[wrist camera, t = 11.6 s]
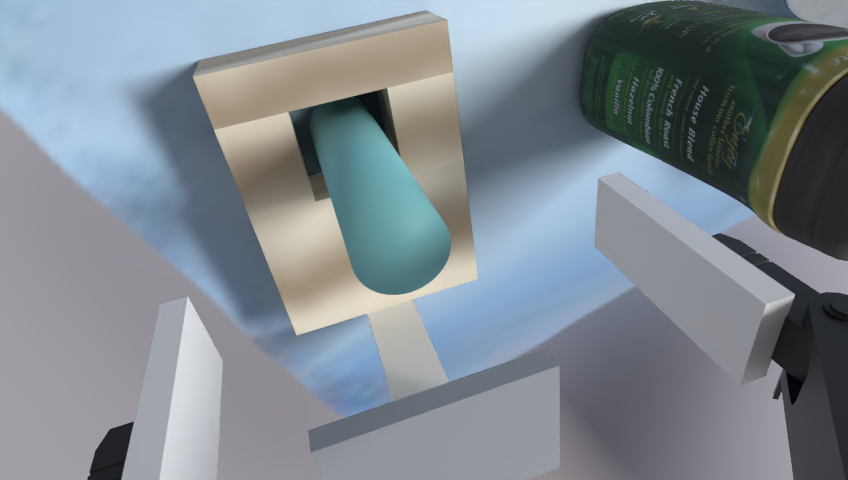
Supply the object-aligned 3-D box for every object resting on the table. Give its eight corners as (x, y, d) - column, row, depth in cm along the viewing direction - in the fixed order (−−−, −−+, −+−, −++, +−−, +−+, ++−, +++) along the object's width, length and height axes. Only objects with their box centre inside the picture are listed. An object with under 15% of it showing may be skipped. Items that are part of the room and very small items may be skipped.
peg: (301, 103, 28) (338, 224, 16) (364, 87, 28) (443, 193, 17) (319, 162, 30) (364, 307, 18) (378, 147, 30) (456, 277, 19)
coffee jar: (567, 136, 34) (827, 303, 19) (581, 6, 30) (931, 87, 14) (690, 115, 36) (1015, 252, 21) (719, -8, 32) (1153, 49, 17)
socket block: (198, 60, 25) (192, 76, 23) (426, 10, 27) (447, 19, 24) (292, 301, 34) (296, 335, 31) (459, 251, 36) (477, 279, 33)
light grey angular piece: (284, 236, 32) (310, 452, 19) (436, 193, 33) (559, 365, 20) (315, 319, 36) (354, 546, 22) (449, 277, 37) (559, 467, 24)
